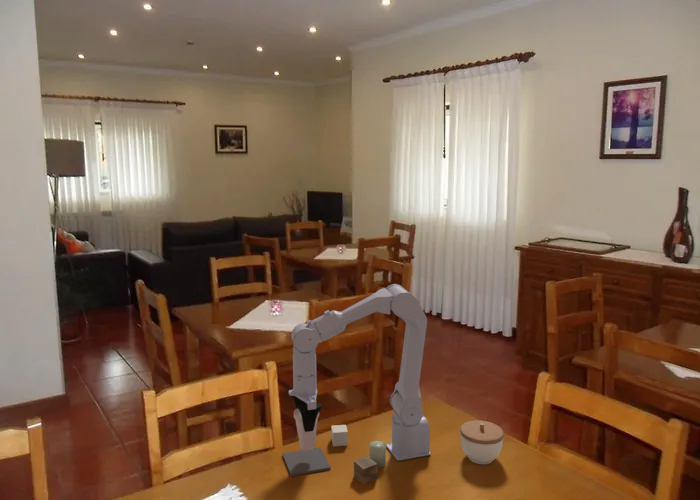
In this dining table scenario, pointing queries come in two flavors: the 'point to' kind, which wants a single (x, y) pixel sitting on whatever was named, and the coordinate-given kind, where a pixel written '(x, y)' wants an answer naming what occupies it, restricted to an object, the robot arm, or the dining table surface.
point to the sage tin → (378, 453)
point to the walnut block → (365, 470)
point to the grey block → (339, 435)
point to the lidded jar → (481, 441)
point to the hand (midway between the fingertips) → (305, 424)
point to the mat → (306, 461)
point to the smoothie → (305, 433)
